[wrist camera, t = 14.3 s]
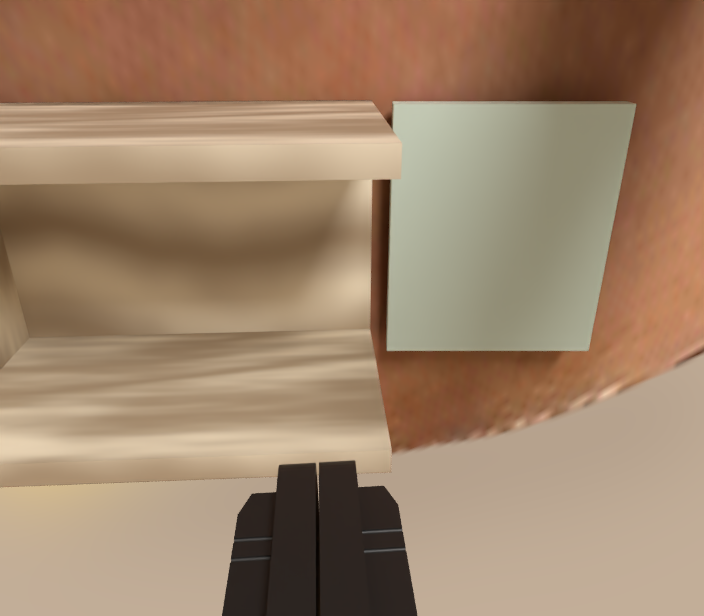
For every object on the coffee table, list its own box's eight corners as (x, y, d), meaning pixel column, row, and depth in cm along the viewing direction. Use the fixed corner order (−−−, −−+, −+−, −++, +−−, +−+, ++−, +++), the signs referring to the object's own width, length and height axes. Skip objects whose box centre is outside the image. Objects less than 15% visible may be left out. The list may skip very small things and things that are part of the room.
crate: (-45, 103, 30) (-259, 150, 19) (371, 100, 31) (402, 143, 20) (22, 346, 36) (-110, 491, 25) (368, 337, 37) (391, 472, 26)
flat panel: (393, 104, 29) (636, 104, 29) (392, 101, 31) (626, 101, 30) (386, 350, 35) (588, 350, 35) (386, 341, 37) (581, 341, 37)
